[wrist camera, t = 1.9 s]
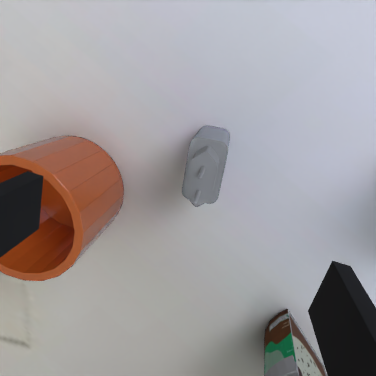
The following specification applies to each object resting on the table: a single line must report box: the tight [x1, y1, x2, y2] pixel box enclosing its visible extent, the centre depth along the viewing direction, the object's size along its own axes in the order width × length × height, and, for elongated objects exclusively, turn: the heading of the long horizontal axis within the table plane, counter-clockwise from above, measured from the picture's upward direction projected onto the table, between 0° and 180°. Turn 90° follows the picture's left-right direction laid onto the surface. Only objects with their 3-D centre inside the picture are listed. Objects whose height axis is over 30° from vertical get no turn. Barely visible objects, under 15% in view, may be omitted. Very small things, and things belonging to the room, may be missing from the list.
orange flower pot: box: [0, 136, 124, 281], centre depth 31 cm, size 12×12×10 cm
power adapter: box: [182, 126, 230, 207], centre depth 27 cm, size 3×5×12 cm, turn 171°
